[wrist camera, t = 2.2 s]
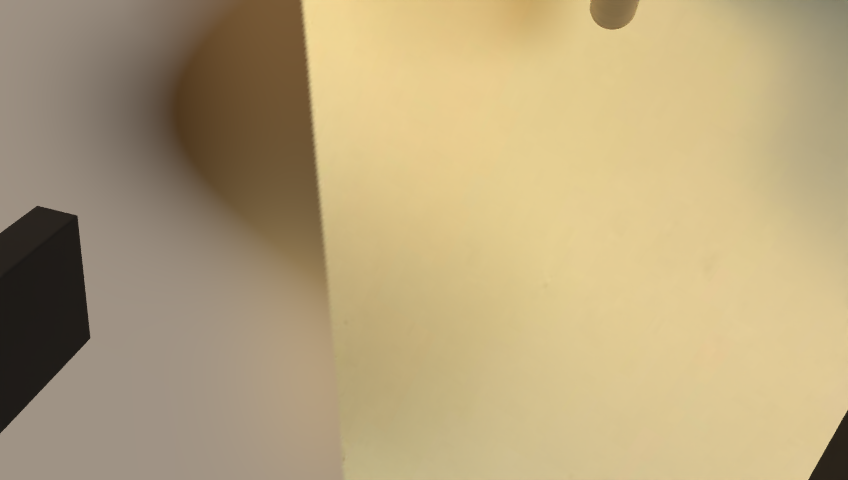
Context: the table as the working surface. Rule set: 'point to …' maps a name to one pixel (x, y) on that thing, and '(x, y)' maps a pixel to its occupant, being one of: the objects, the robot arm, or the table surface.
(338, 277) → the table surface
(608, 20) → the cupboard door
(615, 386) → the table surface
